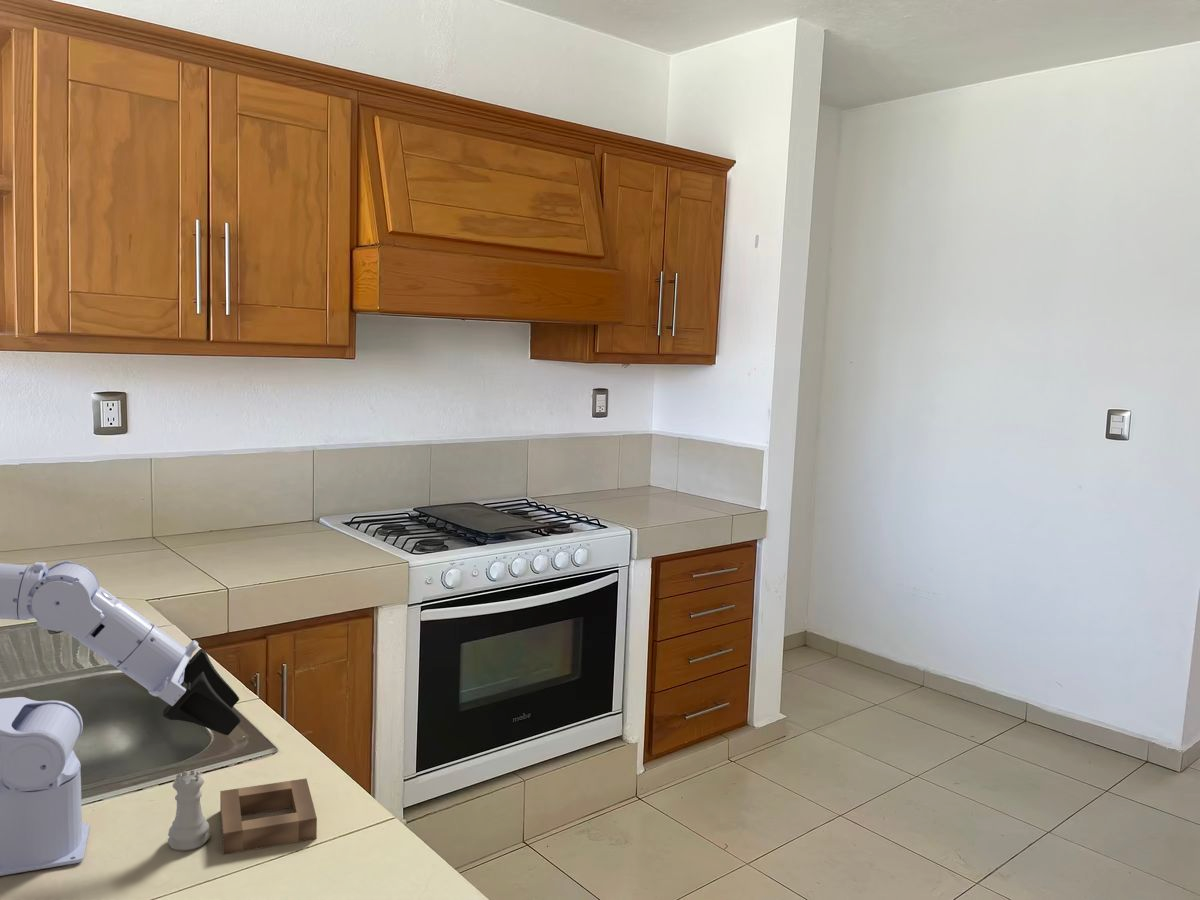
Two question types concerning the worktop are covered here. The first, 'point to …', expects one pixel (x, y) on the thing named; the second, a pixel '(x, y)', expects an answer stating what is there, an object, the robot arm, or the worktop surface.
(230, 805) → the walnut docking collar
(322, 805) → the worktop surface
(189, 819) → the rook chess piece
